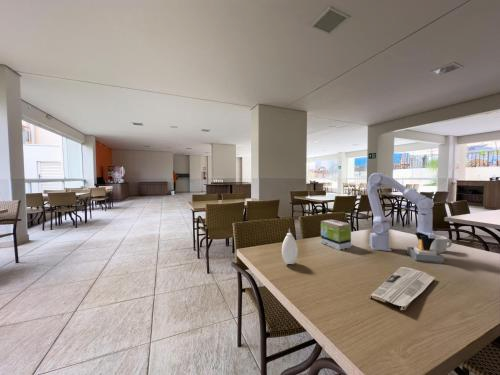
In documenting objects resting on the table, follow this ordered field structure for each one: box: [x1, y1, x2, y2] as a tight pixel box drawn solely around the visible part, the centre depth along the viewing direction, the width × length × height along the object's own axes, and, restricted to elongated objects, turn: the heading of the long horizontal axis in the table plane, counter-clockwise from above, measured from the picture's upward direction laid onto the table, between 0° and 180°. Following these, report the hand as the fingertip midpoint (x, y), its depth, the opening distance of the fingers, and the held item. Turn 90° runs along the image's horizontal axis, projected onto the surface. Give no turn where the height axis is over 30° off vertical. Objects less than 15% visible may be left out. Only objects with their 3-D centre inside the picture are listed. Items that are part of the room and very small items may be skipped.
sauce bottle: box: [281, 228, 299, 265], centre depth 102 cm, size 8×8×18 cm
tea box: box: [320, 218, 352, 251], centre depth 128 cm, size 15×10×15 cm
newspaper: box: [368, 266, 436, 311], centre depth 78 cm, size 35×12×4 cm, turn 130°
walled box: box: [406, 246, 445, 264], centre depth 106 cm, size 11×11×4 cm
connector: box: [417, 239, 430, 251], centre depth 106 cm, size 4×4×8 cm
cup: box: [430, 234, 453, 254], centre depth 114 cm, size 11×8×8 cm
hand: (424, 248), depth 106 cm, fingers closed on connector, 3 cm apart
